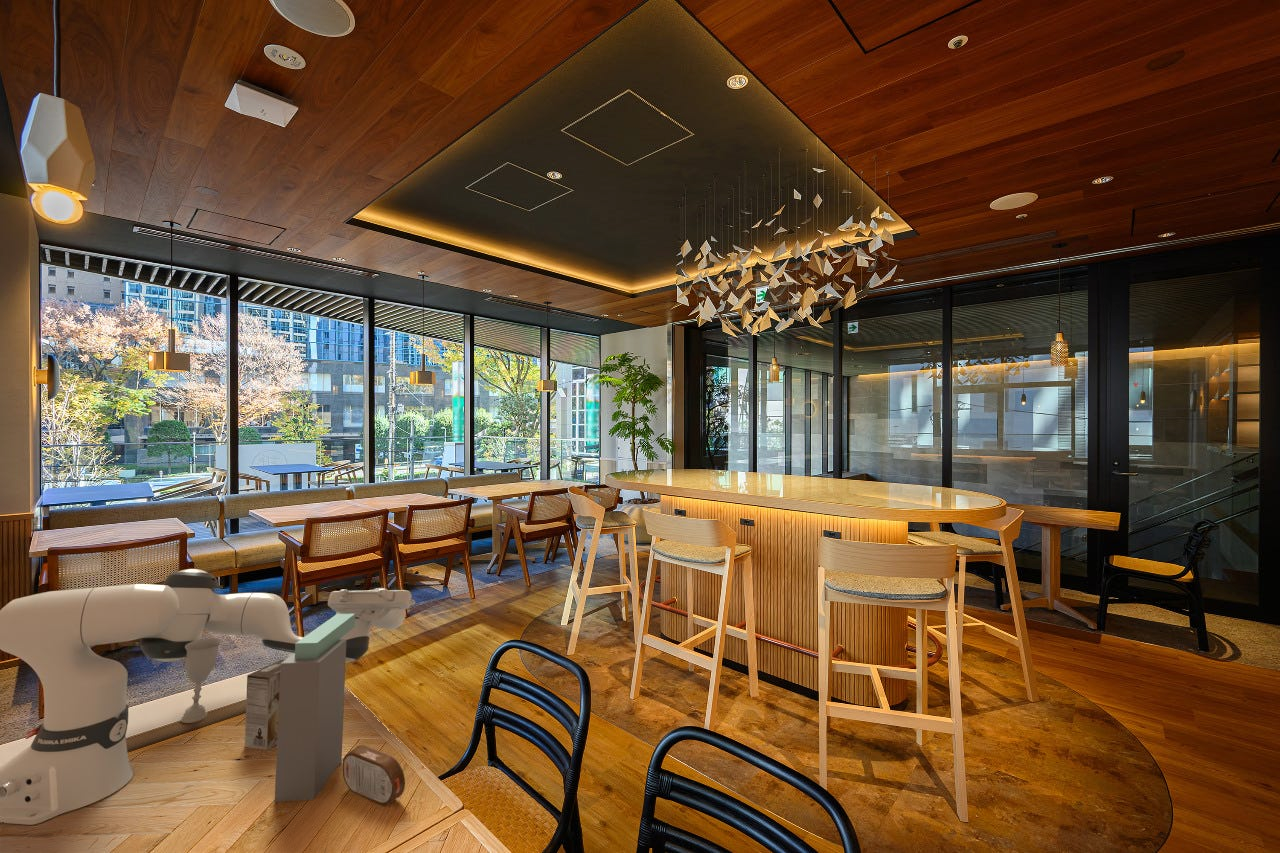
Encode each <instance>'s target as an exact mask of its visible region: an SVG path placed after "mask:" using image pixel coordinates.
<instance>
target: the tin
mask: <svg viewBox="0 0 1280 853" xmlns="http://www.w3.org/2000/svg"><path fill="white" fill-rule="evenodd" d="M342 778H343V782H344V783H345V785H346V786H347V788H348V789H349V791H351V792H352V793H354V794H356V795H357V796H360V797H363V798H364V799H367V800H368V801H371V802H374V803H375V804H378V805H379V804H380V806H388V805H390V804H391V803H392V802H394V801H395V800H396V799H397V798H398V799H399V798H400V797H401V796H402V795H403V793H404V791H405V787H406V777H405V773H404V770H403V767H402V766H401V764H400V763H399V761H398V760H397V759H396V758H395V757H394V756H392V755H390V754H388V753H385V752H382V751H380V750H378V749H375V748H372V747H370V746H367V745H364V744H359V745H357V746H356V747H354V748H353V749H351V750H350V751H348V752H347V753H346V754H345V756H344V757H343V759H342Z"/></svg>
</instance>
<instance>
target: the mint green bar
mask: <svg viewBox="0 0 1280 853" xmlns="http://www.w3.org/2000/svg"><path fill="white" fill-rule="evenodd" d="M354 627H355V614H336V613H335V614H334V616H332V617H330V618H329V619H328V620H326V621H325V622H324V623H322V624H320V625H319V626H318V627H316V628H314V629H313V630H312V631H311V632H309V633H308V634H307V635H305V636H303V637H304V638H302V639H301V640H299V641H298V642H297V643H295V659H308V658H317V657H319V656H320V655H321V654H322V653H323V652H325V651H326V650H327V649H328V648H329V647H331V646H332V645H333V644H334V643H336V642H337V641H338V640H339V639H340V638H342V637H343V636H344V635H345V634H346V633H348V632H349V631H350V630H351V629H353V628H354Z"/></svg>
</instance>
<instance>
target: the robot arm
mask: <svg viewBox="0 0 1280 853" xmlns="http://www.w3.org/2000/svg"><path fill="white" fill-rule="evenodd" d="M223 588H224V586H223V585H219V582H218V579H217V578H216V577H215V576H214V575H213V574H212V573H211V572H207V571H205V570H202V569H197V568H188V569H181V570H179V571H174V572H172V573H170V574H168V575H167V577H166V578H165V580H164V582H163V583H162V584H153V583H151V584H150V583H149V584H148V583H133V584H132V583H131V584H120V585H110V586H107V585H106V586H97V587H87V588H86V587H85V588H76V589H75V588H74V589H63V590H52V591H46V592H40V593H35V594H31V595H28V596H23V597H19V598H18V597H17V598H14V599H12V600H11V601H9V602H8V603H7V604H6V605H5V606H3V607H2V608H1V609H0V650H1V651H2V652H4V653H8V654H10V655H13V656H15V657H17V658H18V659H21V660H22V661H24V663H26V664H28V666H30V667H31V668H32V669H33V671H34V672H35V674H36V675H37V677H38V678H39V680H40V683H41V685H42V689H43V691H42V692H43V705H44V706H43V722H42V723H41V724H39V725H38V727H35V728H33V729H32V730H30V731H28V732H26V733H25V735H27V736H26V737H25V739H26V740H28V739H30V738H32V737H34V739H33V741H32V742H31V745H30V746H28V747H27V748H25V749H24V750H22V751H21V752H20V753H18V754H17V755H16V756H14V757H13V758H12V759H10V760H9V761H7V762H6V763H4V764H3V765H2V766H0V822H4V823H3V824H16V825H25V826H26V825H27V826H30V825H31V826H32V825H37V824H40V823H43V822H45V821H47V820H49V819H52V818H55V817H57V816H58V815H59V816H60V815H62V814H65V813H68V812H71V811H75V810H77V809H80V808H82V807H85V806H88V805H92V804H94V803H97V802H98V801H101V800H103V799H104V798H106V797H109V796H110V795H112V794H115V792H118V791H119V790H120V789H122V788H124V787H125V785H127V784H128V783H129V782H130V781H131V780H132V778H133V775H134V772H133V771H134V770H133V768H132V765H131V762H130V759H129V754H128V748H127V739H126V738H127V737H126V734H127V731H128V725H129V705H128V704H127V690H128V688H127V687H128V676H129V674H128V671H127V669H126V667H125V666H124V665H123V664H122V663H121V662H119V661H117V660H114V659H111V658H107V657H104V656H101V655H99V654H97V653H95V652H94V651H93V650H92V649H91V647H92V646H99V645H107V644H114V643H123V642H130V641H134V640H139V642H138V641H137V642H135V646H136V647H138V646H139V647H140V649H141V651H142V653H143V654H144V655H145V656H146V657H147V658H149V659H152V660H155V661H159V662H164V663H167V662H168V663H169V662H176V661H179V660H183V659H186V655H187V650H186V649H185V646H186V644H188V643H190V642H192V641H195V640H199V639H202V635H203V633H204V631H206V632H208V633H213V634H220V635H230V636H231V635H232V636H253V637H257V638H258V639H260V640H261V642H262V644H263V646H265V647H267V648H269V649H273V650H277V651H282V652H288V653H293V654H294V653H295V643H297V642H298V641H299V640H301V639H302V638H304V637H305V636H299V635H296V634H295V633H294V632H293V629H292V624H291V618H290V612H289V609H288V606H287V604H286V602H285V600H283V598H282V597H281V596H279V595H277V594H276V593H275V594H274V593H268V592H239V593H238V592H237V593H228V594H227V593H226V594H218V593H216V591H215V589H223ZM415 605H416V601H415V599H413V598H412V593H411V591H409V590H406V589H400V590H399V589H397V590H396V589H394V590H393V589H391V590H388V589H387V588H384V587H378V588H377V587H376V588H374V589H369V590H348V589H340V590H334V591H331V592H330V594H329V596H328V600H327V606H328V607H329V608H331V610H332V611H334V612H336V613H335V615H336V614H355V627H354V628H353V629H351V630H350V631H349V632H348V633H346V634H345V635H344V636H343V637H342V638H340V639H347V640H346V663H353V662H356V661H359V659H361V658H362V657H363V656H364V655H365V654H366V653H367V652H368V650H369V645H370V632H371V629H372V628H371V627H372V624H373V625H374V626H376V627H377V628H380V629H381V630H382V629H383V630H386V631H392V630H393V631H394V630H396V629H397V628H399V627H401V625H402V624H403V623H404V621H405V619H406V615H407V612H406V611H407V610H408V609H410V607H411V606H415ZM340 639H339V640H340Z"/></svg>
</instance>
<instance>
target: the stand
mask: <svg viewBox="0 0 1280 853" xmlns="http://www.w3.org/2000/svg"><path fill="white" fill-rule="evenodd" d="M346 640H347V639H340V640H338V641H337V642H336V643H334V644H333V645H332V646H331V647H329V648H328V649H327V650H326V651H325V652H323V653H322V654H321V655H320V656H319V657H317V658H308V659H295V653H293V654H292V655H290V656H288V657H287V658H285V659H284V660H285V661H283V662H282V663H281V668H280V690H279V712H278V734H277V744H276V757H275V758H276V762H275V780H274V781H275V784H274V800H273V801H274V803H278V802H279V803H281V802H283V803H284V802H297V801H311V800H312V801H313V800H315V798H316V797H317V796H318V795H319V793H320V791H322V789H323V788H324V787H325V785H326V783H328V781H329V780H330V778H331V777H332V776H333V775H334V773H335V772H336V770H337V769H336V768H339V766H340V765H341V763H343V759H342V758H343V735H344V732H343V731H344V710H345V690H346V689H345V687H346V665H347V664H346V663H347V662H346ZM339 764H340V765H339ZM334 771H335V772H334ZM333 772H334V773H333ZM331 775H332V776H331Z"/></svg>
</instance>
